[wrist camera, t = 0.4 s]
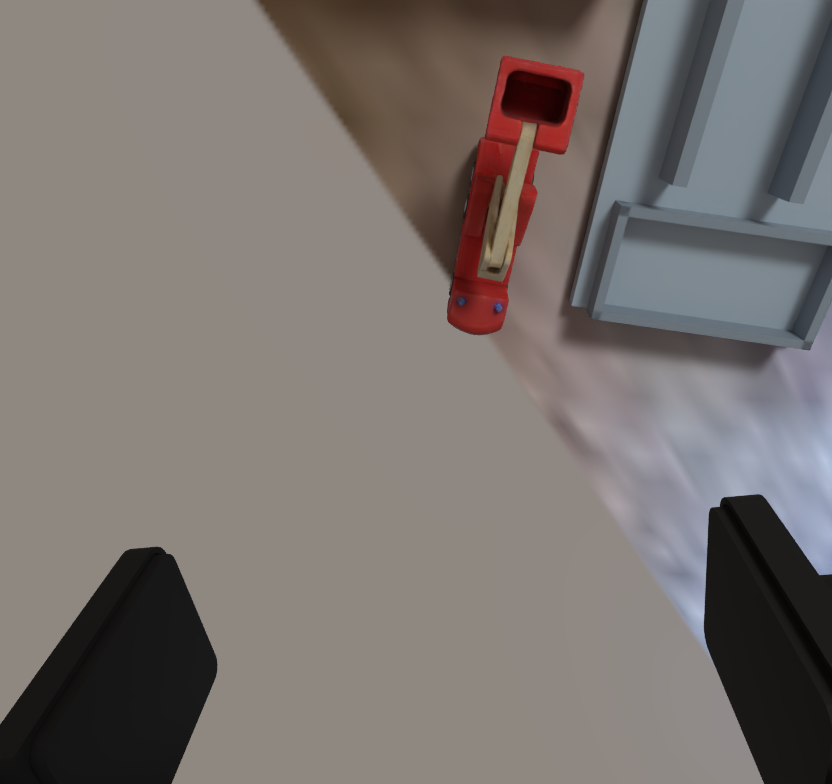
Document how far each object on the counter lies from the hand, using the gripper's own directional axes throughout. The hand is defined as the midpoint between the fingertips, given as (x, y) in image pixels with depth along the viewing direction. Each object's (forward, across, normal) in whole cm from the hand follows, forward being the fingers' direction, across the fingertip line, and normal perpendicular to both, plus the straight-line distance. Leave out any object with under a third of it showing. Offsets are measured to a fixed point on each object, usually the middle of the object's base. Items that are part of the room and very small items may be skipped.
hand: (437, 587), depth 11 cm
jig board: (+28, -16, -4) cm, 32 cm away
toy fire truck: (+28, -2, -1) cm, 28 cm away
